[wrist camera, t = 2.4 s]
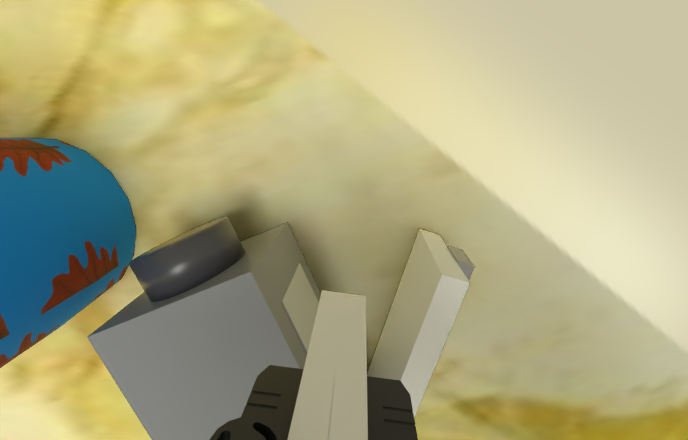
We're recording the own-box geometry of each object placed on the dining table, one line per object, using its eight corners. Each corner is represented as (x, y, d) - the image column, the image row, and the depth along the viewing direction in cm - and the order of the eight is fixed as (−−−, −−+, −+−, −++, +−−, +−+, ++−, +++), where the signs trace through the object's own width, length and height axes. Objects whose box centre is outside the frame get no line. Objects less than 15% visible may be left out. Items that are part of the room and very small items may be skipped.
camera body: (371, 397, 27) (374, 523, 18) (263, 433, 28) (219, 567, 20) (273, 191, 24) (224, 231, 15) (156, 241, 25) (51, 304, 16)
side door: (392, 390, 26) (402, 495, 19) (363, 382, 26) (362, 483, 19) (452, 236, 23) (491, 289, 16) (419, 226, 23) (444, 274, 16)
